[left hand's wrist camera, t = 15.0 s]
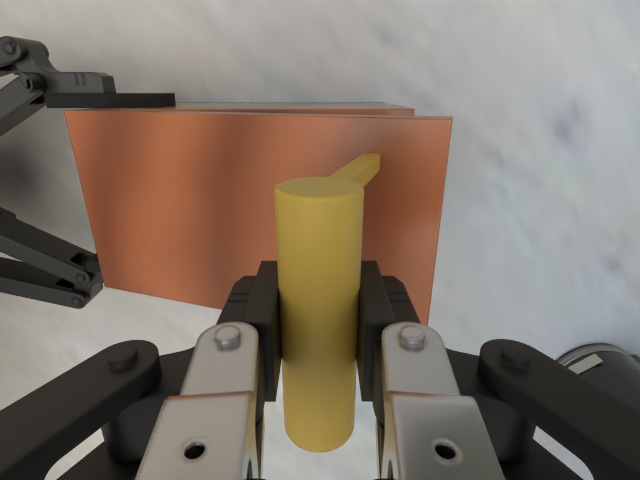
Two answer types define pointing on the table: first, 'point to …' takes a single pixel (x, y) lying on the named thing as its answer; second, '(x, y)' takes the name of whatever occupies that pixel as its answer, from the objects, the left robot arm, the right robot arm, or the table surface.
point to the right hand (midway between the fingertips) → (179, 184)
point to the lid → (269, 225)
